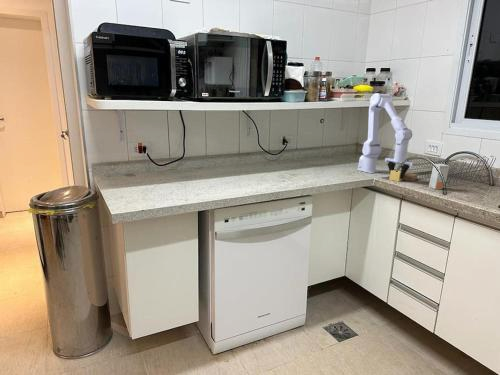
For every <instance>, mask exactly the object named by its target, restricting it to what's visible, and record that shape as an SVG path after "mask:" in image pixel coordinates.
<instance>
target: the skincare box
mask: <svg viewBox="0 0 500 375" xmlns="http://www.w3.org/2000/svg"><path fill="white" fill-rule="evenodd" d="M434 164H435V165H436V166H437V167H438V169H439V170H440V171H441V172H442V174H443V177H444V179H445V182H446V183H447V179H448V175H449V171H450V165H448V164H445V163H434ZM428 184H429V185H428V187H429V188H431V189H433V190H443V189H442V180H441V177H440V174H439V172H438V171H437V170H436V168H435V167H434V166H432V171H431V174H430V179H429V183H428Z"/></svg>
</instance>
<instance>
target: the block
mask: <svg viewBox="0 0 500 375" xmlns="http://www.w3.org/2000/svg"><path fill="white" fill-rule="evenodd" d="M397 170H398V172H396V171H397ZM400 175H401V170H399V169H396V168H394V170H391V172H389V178H388V179H389V180H390V181H395V182H402V181H404V180H403V179H400Z"/></svg>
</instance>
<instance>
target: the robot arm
mask: <svg viewBox="0 0 500 375" xmlns="http://www.w3.org/2000/svg"><path fill="white" fill-rule="evenodd" d="M393 102H394V99H393V98H392V95H391V94H389V93H377V92H375V93H373V94H372V96H371V97H370V100H369V107H368V125H367V126H368V127H367V130H368V131H367V140H366V141H364V142H363V146H362V150H361V152H362V154H361V156H359V160H358V166H357V169H356V170H357V171H360V172H365V173H369V174H374V173H378V172H379V171H378V170H376V168H377V165H378V164H377V163H378V157H379V156H380V155H381V154H382V149H383V148H382V146H381V141H380V140H379V123H380V122H379V121H380V111H381V110H382V109H385V111H386V112H387V114H388V115H389V117H390V119H391V121H390V124H391V126H392V128H393V130H394V132H395V134H394V137H395V143H396V144H395V149H394V153H393V158H389V157H385V159H384V162H385V163H387V167H388V171H389V173H390V172H391V170H395V169H396V168H395V167H396V165H401V163H402V162H404V161H406V162H405V163H404V164H403V165H401V166H400V169H401V170H400V171H401V175H400V179H403V177H404V175H405V173H406V172H407V171H408V170H409V168H410V167H411V168H412V167H414V162H411V161H407V160H406V158H407V153H408V147H409V141H410V140H411V139H412V138H413V132H412V130H411V128H408V126H406V123H405V121H404V118H403V117H402V116H399V115H398V113H397V111H396V107H395V106H394V103H393Z"/></svg>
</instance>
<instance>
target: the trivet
mask: <svg viewBox="0 0 500 375" xmlns="http://www.w3.org/2000/svg"><path fill="white" fill-rule="evenodd" d="M418 176H419V174H416V173H412V172H407V171H406V173H405V175H404V177H403V180H402V181H408V182H412V181H416V180H418Z"/></svg>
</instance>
